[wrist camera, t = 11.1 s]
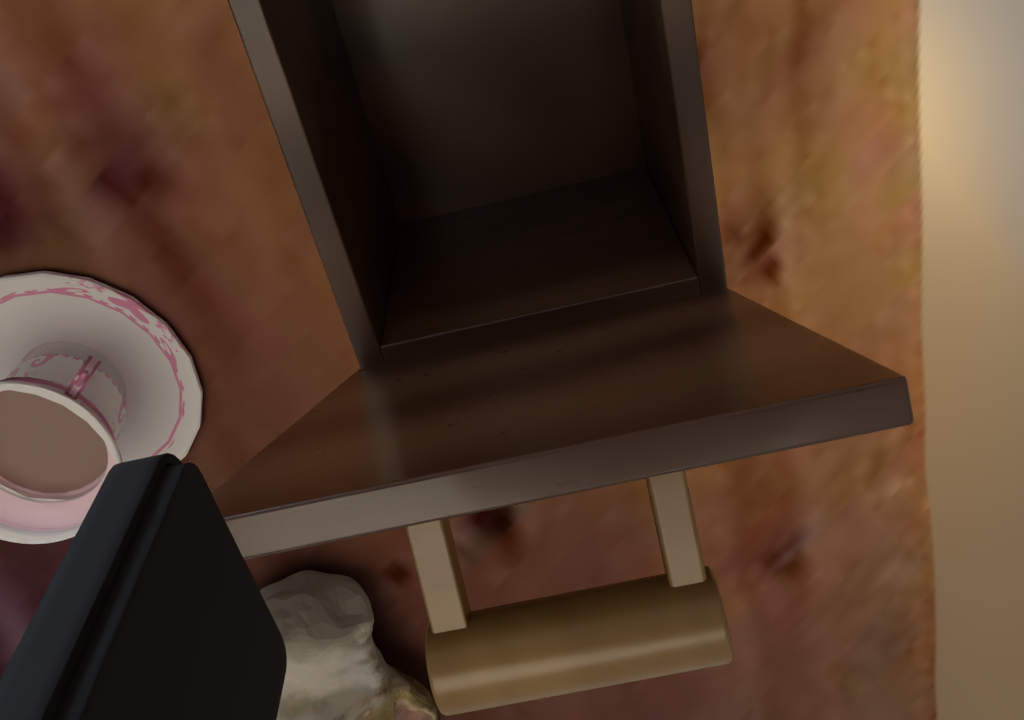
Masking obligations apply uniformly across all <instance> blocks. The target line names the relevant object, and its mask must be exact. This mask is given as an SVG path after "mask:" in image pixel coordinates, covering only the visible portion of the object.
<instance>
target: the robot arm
mask: <svg viewBox="0 0 1024 720" xmlns="http://www.w3.org/2000/svg"><path fill="white" fill-rule="evenodd" d="M286 668H287V656H286V648H285V644H284V640H283V638H282V635H281V633H280V631H279V629H278V627H277V625H276V623H275V621H274V619H273V617H272V615H271V613H270V611H269V609H268V607H267V605H266V603H265V601H264V598H263V596H262V594H261V592H260V590H259V588H258V586H257V584H256V582H255V580H254V578H253V576H252V574H251V572H250V570H249V568H248V566H247V564H246V562H245V560H244V558H243V556H242V554H241V552H240V550H239V548H238V546H237V544H236V542H235V540H234V538H233V536H232V534H231V532H230V530H229V528H228V526H227V524H226V522H225V520H224V518H223V516H222V514H221V512H220V510H219V508H218V506H217V504H216V501H215V499H214V497H213V495H212V493H211V491H210V489H209V487H208V485H207V483H206V481H205V479H204V477H203V475H202V473H201V472H200V470H199V468H198V467H197V466H196V465H195V464H193V463H184V464H182V463H181V461H180V460H179V459H178V458H177V457H176V456H175V455H174V454H170V453H165V454H160V455H155V456H150V457H146V458H141V459H136V460H131V461H126V462H122V463H118V464H116V465H113V467H112V468H111V469H110V471H109V472H108V474H107V476H106V478H105V480H104V482H103V483H102V485H101V487H100V489H99V491H98V493H97V495H96V497H95V499H94V501H93V503H92V505H91V507H90V508H89V510H88V512H87V514H86V516H85V518H84V520H83V522H82V524H81V526H80V528H79V530H78V531H77V533H76V535H75V537H74V539H73V541H72V543H71V545H70V547H69V549H68V551H67V553H66V555H65V556H64V558H63V560H62V562H61V564H60V566H59V568H58V570H57V572H56V574H55V576H54V578H53V580H52V581H51V583H50V585H49V587H48V589H47V591H46V593H45V595H44V597H43V599H42V601H41V603H40V605H39V606H38V608H37V610H36V612H35V614H34V616H33V618H32V620H31V622H30V624H29V626H28V628H27V629H26V631H25V633H24V635H23V637H22V639H21V641H20V643H19V645H18V647H17V649H16V651H15V653H14V654H13V656H12V658H11V660H10V662H9V664H8V666H7V668H6V670H5V672H4V674H3V676H2V678H1V679H0V720H276V719H277V714H278V709H279V704H280V700H281V695H282V690H283V685H284V680H285V675H286Z"/></svg>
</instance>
